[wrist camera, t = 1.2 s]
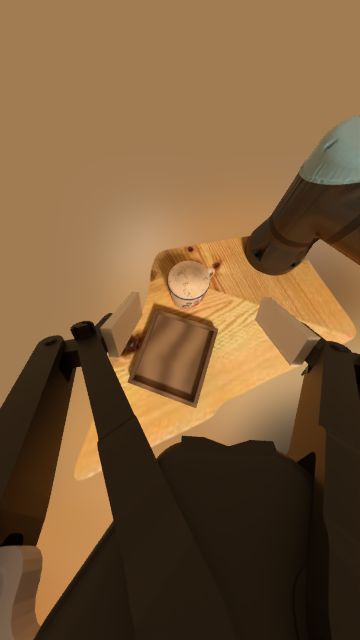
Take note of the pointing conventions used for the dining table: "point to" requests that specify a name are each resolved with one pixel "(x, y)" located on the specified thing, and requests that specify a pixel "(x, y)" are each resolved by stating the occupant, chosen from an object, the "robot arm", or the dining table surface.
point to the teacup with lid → (189, 283)
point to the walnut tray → (174, 357)
